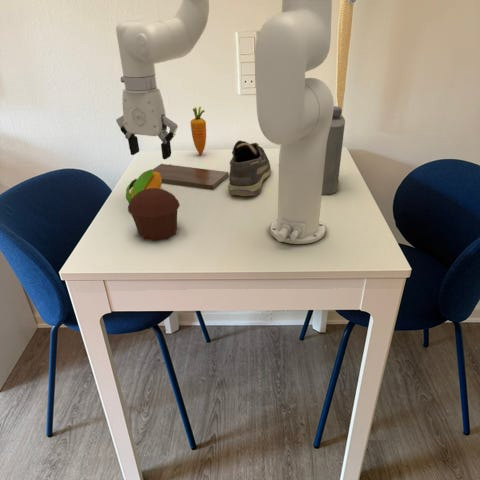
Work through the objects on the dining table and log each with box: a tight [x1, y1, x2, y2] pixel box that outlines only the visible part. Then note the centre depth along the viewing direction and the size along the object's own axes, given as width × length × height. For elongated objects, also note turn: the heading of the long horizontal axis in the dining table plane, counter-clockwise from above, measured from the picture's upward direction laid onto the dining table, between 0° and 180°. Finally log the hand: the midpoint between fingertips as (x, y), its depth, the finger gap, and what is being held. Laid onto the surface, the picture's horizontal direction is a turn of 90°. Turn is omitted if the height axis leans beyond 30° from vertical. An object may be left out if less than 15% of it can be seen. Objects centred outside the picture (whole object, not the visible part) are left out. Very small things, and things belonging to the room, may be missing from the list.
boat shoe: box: [227, 140, 272, 197], centre depth 125 cm, size 11×29×11 cm, turn 174°
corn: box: [125, 168, 162, 204], centre depth 116 cm, size 7×8×20 cm
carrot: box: [190, 106, 207, 156], centre depth 142 cm, size 5×5×15 cm
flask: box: [322, 105, 346, 195], centre depth 118 cm, size 15×6×20 cm, turn 176°
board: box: [152, 163, 230, 190], centre depth 131 cm, size 11×23×1 cm, turn 67°
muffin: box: [127, 188, 181, 242], centre depth 101 cm, size 12×11×10 cm
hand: (150, 155), depth 116 cm, fingers open, 9 cm apart
